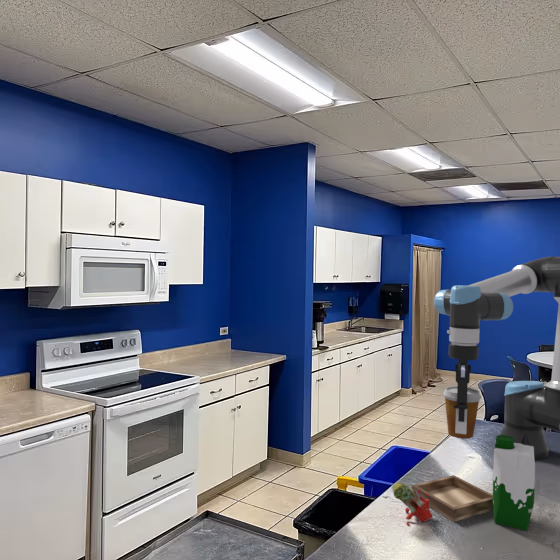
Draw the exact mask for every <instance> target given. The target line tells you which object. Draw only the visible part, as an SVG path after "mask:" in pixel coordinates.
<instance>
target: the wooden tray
mask: <svg viewBox="0 0 560 560" xmlns="http://www.w3.org/2000/svg"><path fill="white" fill-rule="evenodd" d="M411 489H413V490H414V491H415V492H418V491H419V489H420V491H419V494H420V496H421V497H423V498H424V499H429V500H430V501H429V509H432V510H433V511H435V512H436V513H438V514H439V515H441V516H443V517H445V518H447V519H448V520H449V521H451V522H453V523H455V522H459V521H461V520H465V519H468V518H472V517H476V516H478V514H479V515H483V514H486V513H489V512H492V510H493V511H494V509H493V493H490V492H488V491H486V490H484V489H482V488H480V487H478V486H476V485H474V484H472V483H470V482H469V481H466V480H464V479H462V478H460V477H458V476H456V475H454V474H453V475H449V476H445V477H441V478H436V479H432V480H428V481H423V482H420V483H416V484H412V485H411ZM426 493H428V496H426ZM485 512H486V513H485ZM482 513H483V514H482Z"/></svg>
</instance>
